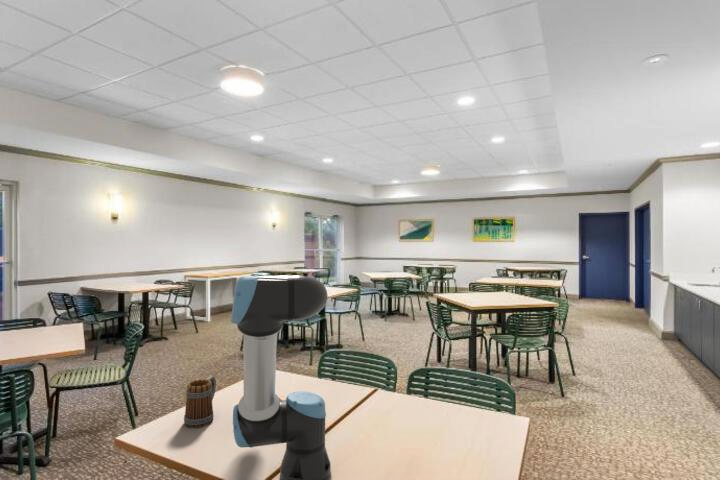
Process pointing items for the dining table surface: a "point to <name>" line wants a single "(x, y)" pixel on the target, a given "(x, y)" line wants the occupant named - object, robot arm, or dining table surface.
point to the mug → (199, 402)
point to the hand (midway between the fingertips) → (259, 376)
